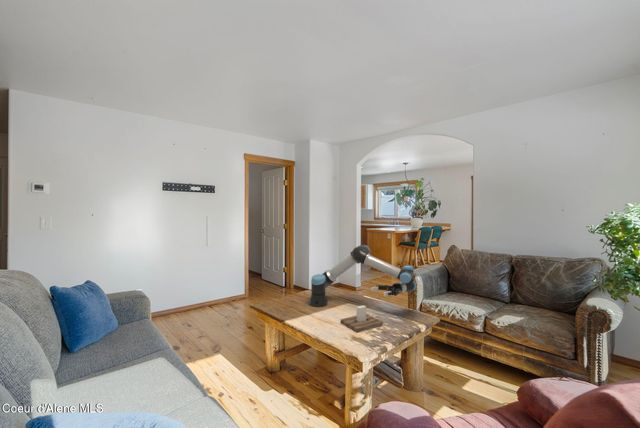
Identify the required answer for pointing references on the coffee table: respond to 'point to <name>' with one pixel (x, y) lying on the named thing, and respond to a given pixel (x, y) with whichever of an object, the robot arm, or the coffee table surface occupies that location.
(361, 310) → the tall cream pillar
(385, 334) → the coffee table surface
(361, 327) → the brown slotted base plate
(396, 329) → the coffee table surface
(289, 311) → the coffee table surface
